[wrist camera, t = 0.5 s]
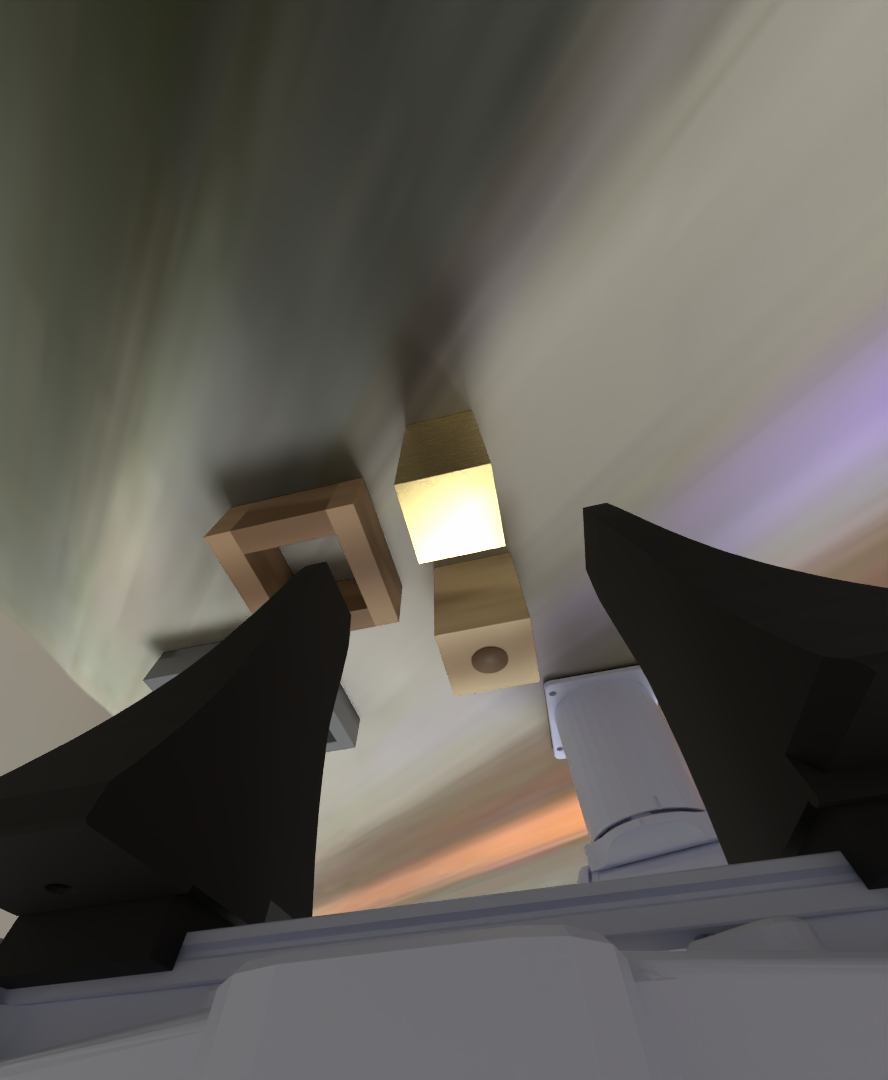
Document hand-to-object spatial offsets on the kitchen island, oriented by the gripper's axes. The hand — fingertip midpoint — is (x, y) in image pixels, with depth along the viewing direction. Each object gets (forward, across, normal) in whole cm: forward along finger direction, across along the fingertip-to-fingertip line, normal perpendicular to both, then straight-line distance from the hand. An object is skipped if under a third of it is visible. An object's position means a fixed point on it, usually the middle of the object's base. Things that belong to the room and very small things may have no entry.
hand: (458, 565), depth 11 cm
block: (+10, 0, +9) cm, 13 cm away
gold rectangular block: (+10, 0, 0) cm, 10 cm away
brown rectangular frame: (+10, +8, +4) cm, 13 cm away
